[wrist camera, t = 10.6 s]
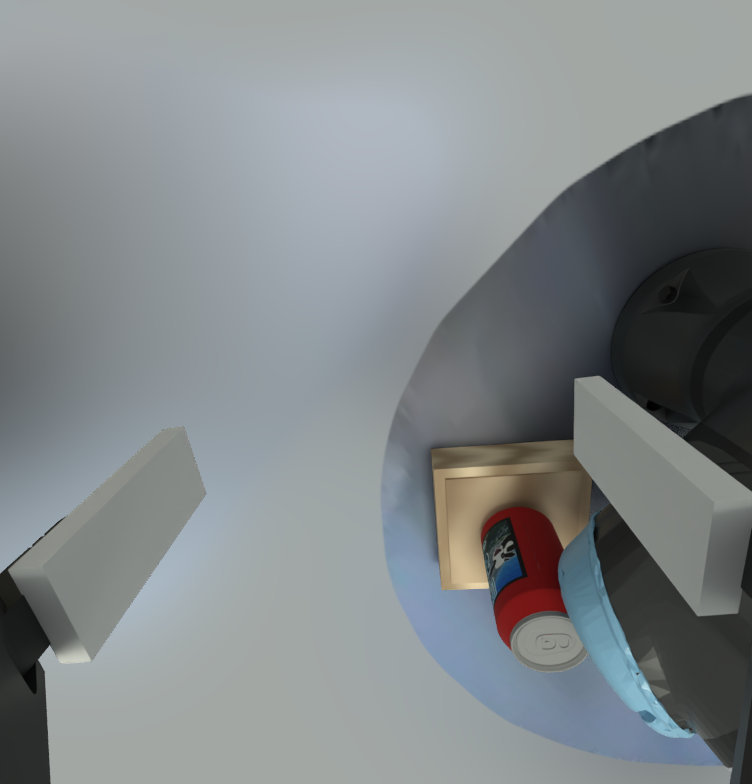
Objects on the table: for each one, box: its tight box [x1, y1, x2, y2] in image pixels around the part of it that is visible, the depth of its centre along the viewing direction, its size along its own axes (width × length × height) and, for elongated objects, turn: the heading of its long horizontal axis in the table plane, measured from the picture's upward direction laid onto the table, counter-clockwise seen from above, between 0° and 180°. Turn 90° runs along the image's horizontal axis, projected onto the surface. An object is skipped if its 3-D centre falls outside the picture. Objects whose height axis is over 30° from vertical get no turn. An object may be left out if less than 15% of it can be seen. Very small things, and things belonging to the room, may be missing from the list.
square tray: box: [431, 439, 592, 590], centre depth 44 cm, size 14×14×4 cm
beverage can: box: [481, 507, 588, 673], centre depth 36 cm, size 7×7×12 cm
